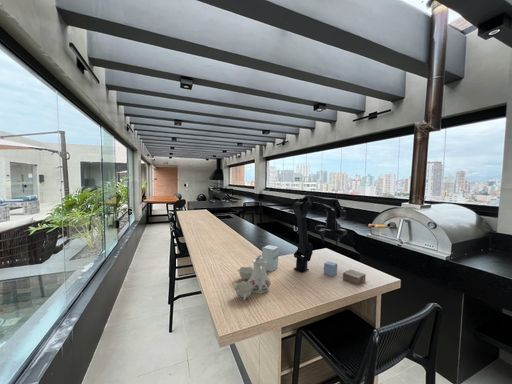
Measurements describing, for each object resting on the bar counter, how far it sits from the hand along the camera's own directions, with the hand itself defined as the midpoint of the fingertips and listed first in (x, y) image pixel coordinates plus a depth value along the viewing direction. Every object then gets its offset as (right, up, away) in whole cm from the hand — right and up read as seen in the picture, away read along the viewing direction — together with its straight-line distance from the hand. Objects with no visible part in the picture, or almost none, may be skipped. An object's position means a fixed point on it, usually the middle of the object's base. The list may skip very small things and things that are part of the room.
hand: (329, 243), depth 135 cm
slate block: (-4, -14, -14) cm, 20 cm away
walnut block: (+5, -15, -21) cm, 26 cm away
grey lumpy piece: (-48, -13, -34) cm, 60 cm away
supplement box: (-38, -13, -9) cm, 41 cm away
